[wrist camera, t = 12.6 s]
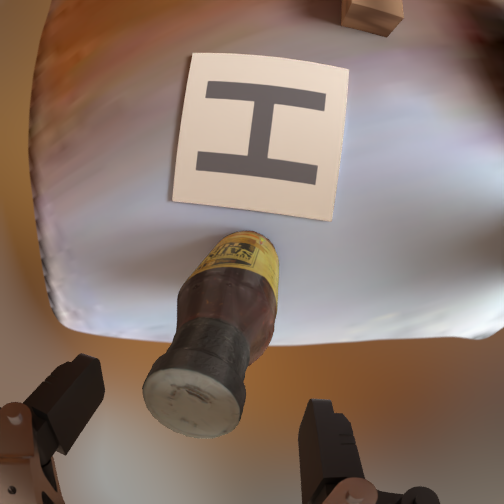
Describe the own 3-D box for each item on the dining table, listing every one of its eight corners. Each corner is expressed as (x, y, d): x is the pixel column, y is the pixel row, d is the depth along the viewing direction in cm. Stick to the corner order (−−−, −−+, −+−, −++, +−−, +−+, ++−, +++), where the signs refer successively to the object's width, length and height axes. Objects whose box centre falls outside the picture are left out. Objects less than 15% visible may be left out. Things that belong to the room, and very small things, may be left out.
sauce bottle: (257, 215, 28) (225, 300, 9) (290, 271, 29) (315, 427, 10) (199, 249, 29) (90, 367, 10) (233, 302, 30) (182, 463, 11)
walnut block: (385, 4, 21) (399, -17, 16) (386, 37, 23) (403, 18, 18) (341, -7, 22) (350, -32, 17) (341, 26, 23) (351, 2, 18)
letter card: (347, 71, 24) (348, 69, 23) (330, 220, 28) (331, 221, 27) (194, 55, 24) (192, 52, 24) (174, 200, 28) (172, 201, 28)
